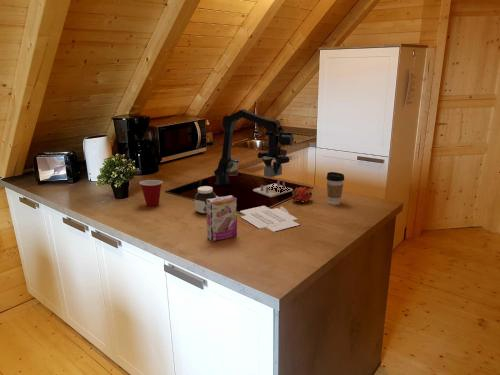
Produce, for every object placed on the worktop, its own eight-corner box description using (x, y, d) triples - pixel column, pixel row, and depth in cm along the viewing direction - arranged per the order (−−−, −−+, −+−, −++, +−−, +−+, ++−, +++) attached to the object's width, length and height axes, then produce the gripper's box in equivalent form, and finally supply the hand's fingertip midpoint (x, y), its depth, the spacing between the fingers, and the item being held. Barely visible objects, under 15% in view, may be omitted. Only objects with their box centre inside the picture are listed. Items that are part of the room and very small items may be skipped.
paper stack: (267, 235, 161) (267, 227, 160) (233, 216, 184) (233, 208, 183) (306, 224, 171) (306, 216, 170) (269, 208, 194) (269, 200, 193)
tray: (270, 197, 204) (271, 189, 203) (253, 190, 214) (253, 183, 213) (292, 190, 214) (292, 183, 213) (274, 185, 224) (274, 178, 223)
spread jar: (193, 214, 182) (192, 190, 178) (199, 206, 193) (198, 183, 189) (219, 215, 180) (218, 191, 177) (224, 207, 191) (223, 184, 187)
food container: (240, 173, 249) (240, 157, 246) (239, 175, 244) (239, 159, 240) (221, 172, 251) (221, 157, 248) (219, 175, 245) (219, 159, 242)
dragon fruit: (289, 206, 196) (309, 205, 201) (298, 200, 189) (318, 200, 194) (286, 190, 198) (305, 190, 204) (295, 184, 191) (315, 184, 197)
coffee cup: (326, 199, 200) (327, 170, 196) (343, 201, 198) (345, 172, 193) (324, 205, 193) (325, 175, 188) (341, 206, 190) (343, 176, 186)
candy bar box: (212, 242, 153) (210, 202, 148) (207, 238, 158) (205, 199, 153) (237, 236, 158) (237, 198, 153) (232, 232, 163) (231, 194, 158)
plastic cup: (168, 202, 198) (166, 179, 194) (157, 209, 188) (155, 185, 185) (149, 200, 201) (147, 177, 198) (137, 207, 191) (134, 183, 188)
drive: (270, 177, 207) (270, 168, 206) (264, 176, 210) (264, 166, 209) (281, 174, 213) (282, 165, 212) (275, 172, 216) (275, 163, 215)
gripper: (297, 144, 205) (296, 174, 210) (272, 139, 218) (271, 167, 223) (281, 147, 198) (281, 177, 203) (257, 142, 212) (257, 170, 216)
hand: (272, 173), depth 211 cm, fingers closed on drive, 5 cm apart
